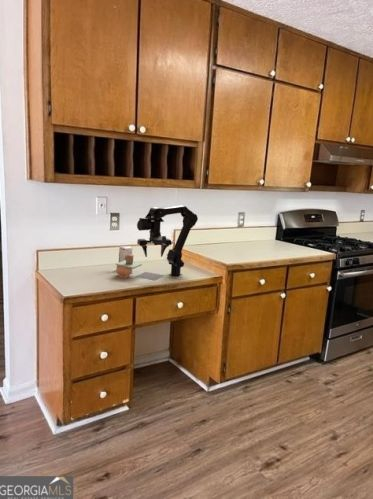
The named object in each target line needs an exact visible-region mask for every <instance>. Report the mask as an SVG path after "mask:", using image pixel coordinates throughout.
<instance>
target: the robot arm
mask: <svg viewBox="0 0 373 499" xmlns="http://www.w3.org/2000/svg"><path fill="white" fill-rule="evenodd" d="M175 214H176V215H177V214H180V215H181V217H182V228H181V230H180V233H179V235H178V238H177V239H176V241H175V242H176V243H175V244H174V246H173V248H172V249H168V252H167V253H166V256H167V257H166V259H167V262H168V264H169V265H171V266H170V273H169V274H168V276H172V277H181V276H182V275H183V273H181V272H182V271H181V268H182V267H184V266H185V262H184V261H183V260H182V257H183V252H182V251H183V248H184V246H185V244H186V241H187V239H188V237H189V235H190V234H189V233H190V231H191V230H192V228H193V227H195V226H196V224H197V222H198V219H199V218H198V215H197V214H195V213H194V211H191V209H189V208H188V207H187V206H186V205H181V204H180V205H175V206H170V207H159V206H152V207H150V208H149V211H148V213H147V214H146V216H145V217H144V218H143V217H139V219H138V221H137V223H136V228H137V230H138V231H140V232H141V231H149V232H148V233H149V237H148V240H146V239H145V238H138V239H137V241H136V243H137V245H139V246H140V247H141V248H142V250H143V253H144V256H145V258H146V257H147V256H148V252H147V251H148V249H147V248H148V245H149V244H150V245H154V246H160V257H164V256H163V255H164V252H165V251H166V249H167V248H168V247H170V246H172V243H173V242H172V239H169V238H167V236H166V235H163V236H162V232H161V223H164V222H165V221H164V219H163V218H164V217H166V216H168V215H175ZM147 244H148V245H147Z"/></svg>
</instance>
